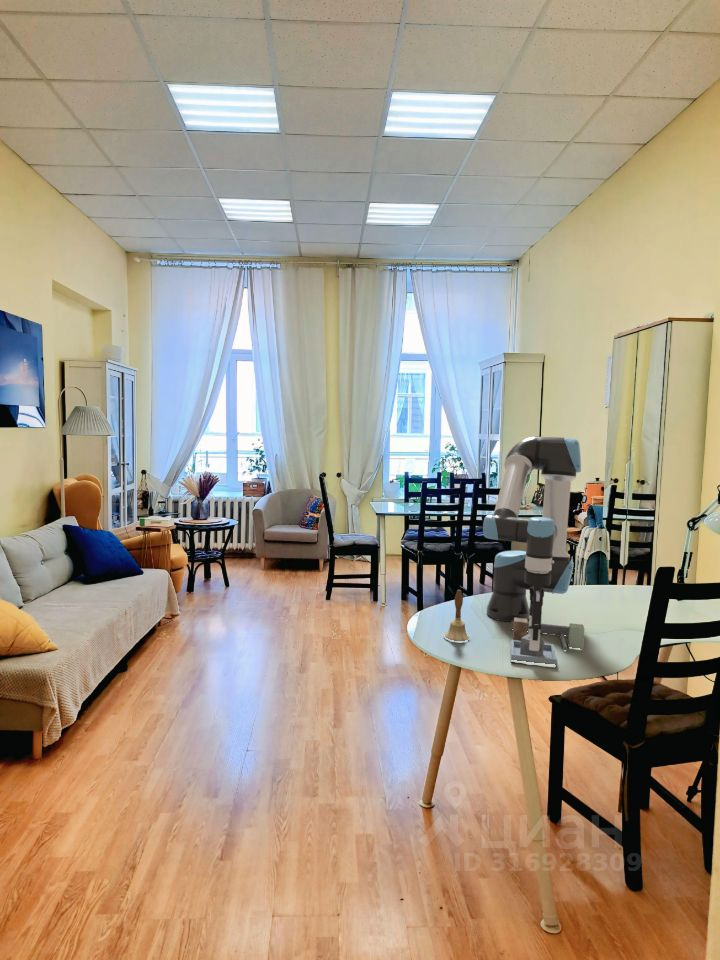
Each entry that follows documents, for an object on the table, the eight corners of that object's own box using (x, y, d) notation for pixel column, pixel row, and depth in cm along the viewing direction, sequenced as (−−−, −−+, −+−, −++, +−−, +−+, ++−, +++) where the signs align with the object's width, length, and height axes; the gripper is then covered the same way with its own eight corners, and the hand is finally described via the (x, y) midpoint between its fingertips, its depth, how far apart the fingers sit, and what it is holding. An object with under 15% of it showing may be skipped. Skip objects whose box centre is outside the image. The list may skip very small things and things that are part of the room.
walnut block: (513, 642, 200) (514, 621, 199) (512, 638, 204) (514, 617, 203) (526, 644, 199) (527, 622, 198) (525, 640, 203) (527, 618, 202)
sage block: (569, 649, 196) (570, 627, 195) (568, 644, 200) (569, 623, 199) (582, 650, 195) (584, 628, 194) (581, 646, 199) (582, 624, 198)
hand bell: (472, 643, 198) (475, 593, 196) (446, 643, 197) (449, 593, 196) (466, 634, 206) (468, 586, 204) (441, 634, 205) (443, 586, 204)
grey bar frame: (511, 645, 197) (512, 636, 197) (511, 629, 212) (511, 620, 212) (585, 654, 192) (586, 644, 192) (579, 636, 208) (580, 627, 207)
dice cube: (520, 654, 188) (521, 637, 187) (527, 649, 191) (528, 633, 191) (535, 658, 184) (537, 642, 184) (543, 654, 188) (544, 637, 188)
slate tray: (510, 662, 183) (511, 654, 183) (510, 647, 195) (511, 639, 195) (556, 668, 180) (556, 659, 180) (552, 652, 193) (553, 644, 192)
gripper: (554, 581, 173) (548, 659, 176) (548, 563, 195) (544, 632, 198) (526, 578, 175) (521, 656, 177) (523, 560, 197) (519, 630, 199)
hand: (533, 643), depth 187 cm, fingers open, 10 cm apart
